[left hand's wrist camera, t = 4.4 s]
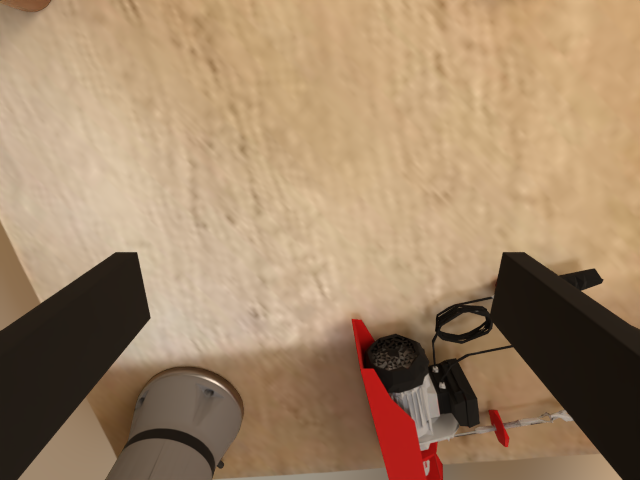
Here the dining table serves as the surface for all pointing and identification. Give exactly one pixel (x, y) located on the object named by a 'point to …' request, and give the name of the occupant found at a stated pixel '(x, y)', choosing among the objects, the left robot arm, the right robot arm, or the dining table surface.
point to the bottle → (27, 4)
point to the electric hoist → (430, 392)
